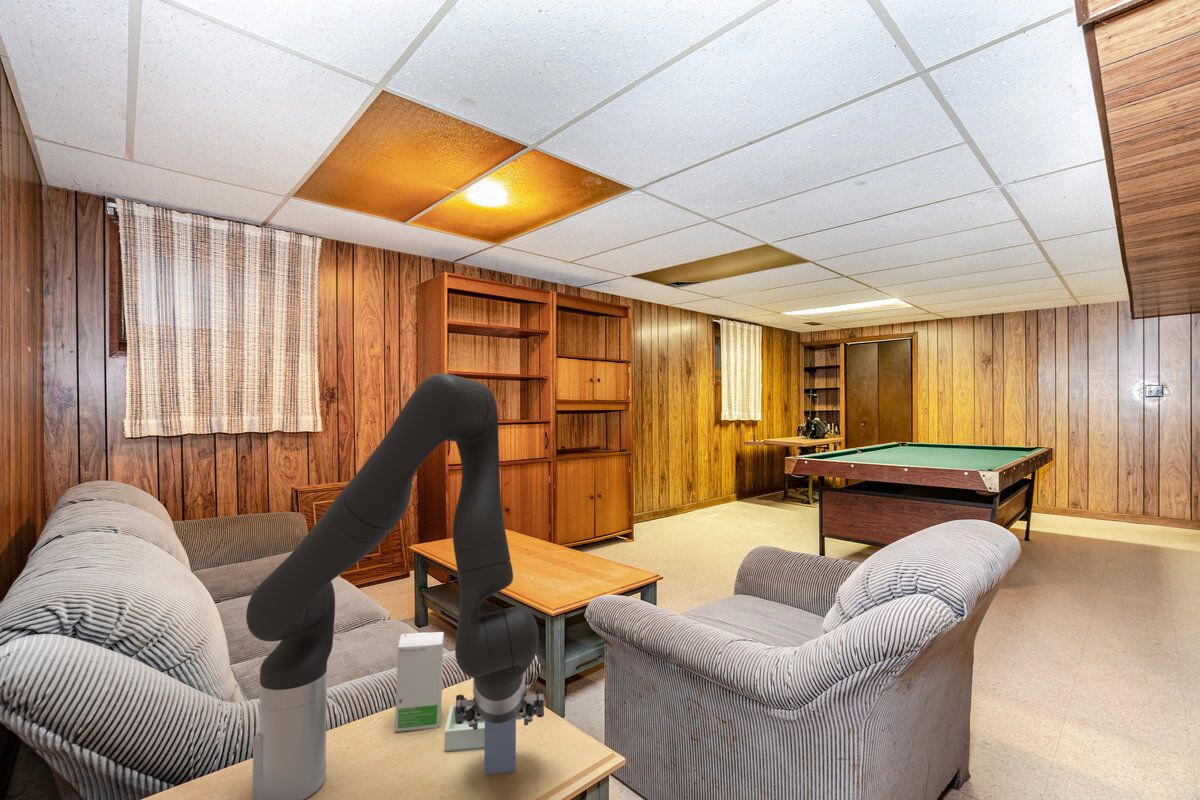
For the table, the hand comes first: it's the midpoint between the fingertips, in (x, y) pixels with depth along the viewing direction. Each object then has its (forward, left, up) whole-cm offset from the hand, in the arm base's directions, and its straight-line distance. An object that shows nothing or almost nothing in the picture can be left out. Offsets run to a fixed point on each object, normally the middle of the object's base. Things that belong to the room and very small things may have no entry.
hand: (500, 721), depth 93 cm
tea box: (0, -1, -6) cm, 6 cm away
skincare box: (-16, +14, -6) cm, 22 cm away
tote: (-5, +7, -6) cm, 11 cm away
